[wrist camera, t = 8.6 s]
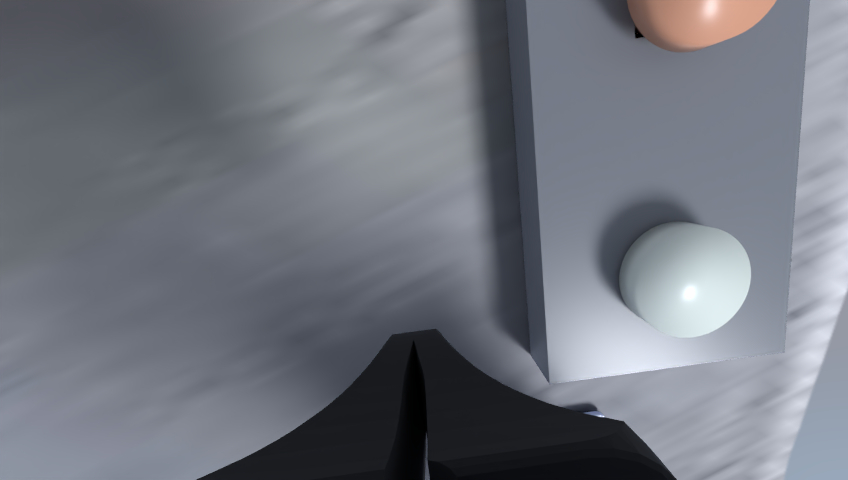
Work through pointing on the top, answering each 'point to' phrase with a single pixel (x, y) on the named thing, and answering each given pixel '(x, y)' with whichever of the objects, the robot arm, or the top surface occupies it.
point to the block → (649, 174)
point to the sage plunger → (685, 278)
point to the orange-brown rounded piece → (694, 21)
